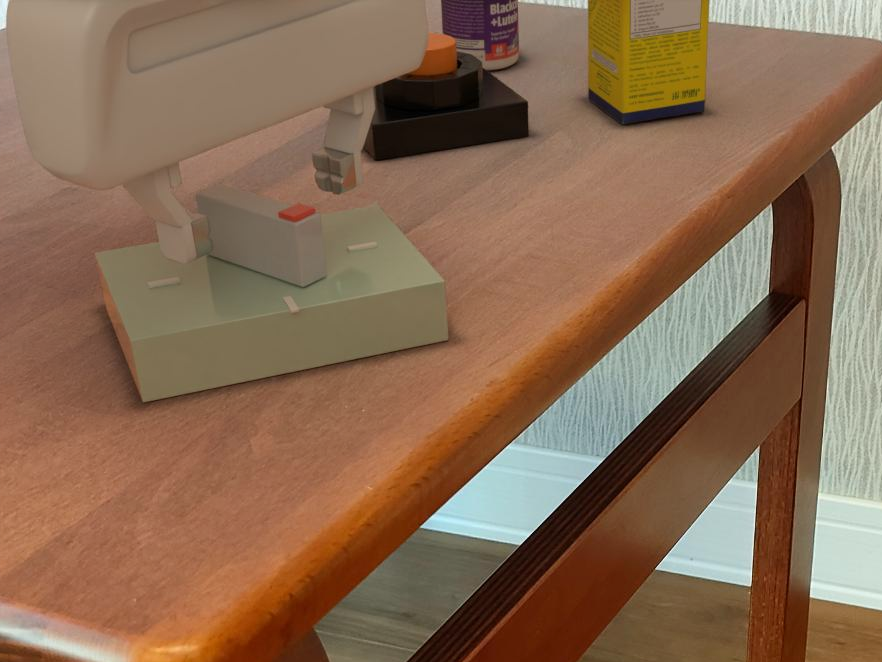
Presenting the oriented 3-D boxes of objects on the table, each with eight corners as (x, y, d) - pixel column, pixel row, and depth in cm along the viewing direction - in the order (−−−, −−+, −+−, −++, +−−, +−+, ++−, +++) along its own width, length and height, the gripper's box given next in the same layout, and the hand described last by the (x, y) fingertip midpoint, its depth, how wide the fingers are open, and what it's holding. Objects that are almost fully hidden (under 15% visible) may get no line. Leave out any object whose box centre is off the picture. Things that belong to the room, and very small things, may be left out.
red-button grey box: (204, 254, 66) (193, 187, 64) (229, 243, 67) (219, 177, 65) (303, 288, 62) (294, 219, 61) (328, 275, 63) (320, 207, 62)
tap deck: (144, 406, 60) (130, 340, 58) (105, 307, 68) (92, 246, 66) (451, 343, 64) (447, 280, 63) (380, 257, 72) (375, 198, 71)
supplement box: (666, 87, 95) (672, -87, 88) (706, 114, 90) (715, -68, 84) (584, 99, 93) (584, -78, 87) (621, 126, 88) (624, -58, 82)
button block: (375, 160, 84) (369, 94, 82) (337, 121, 90) (331, 57, 88) (529, 136, 87) (527, 71, 85) (483, 99, 93) (480, 37, 91)
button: (409, 82, 85) (408, 52, 84) (391, 66, 87) (389, 37, 86) (465, 74, 86) (464, 44, 85) (445, 58, 88) (444, 30, 87)
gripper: (342, -158, 64) (372, 141, 72) (-51, -72, 50) (39, 283, 58) (449, -147, 60) (468, 165, 68) (59, -53, 47) (138, 320, 55)
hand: (268, 220), depth 63 cm, fingers open, 8 cm apart
